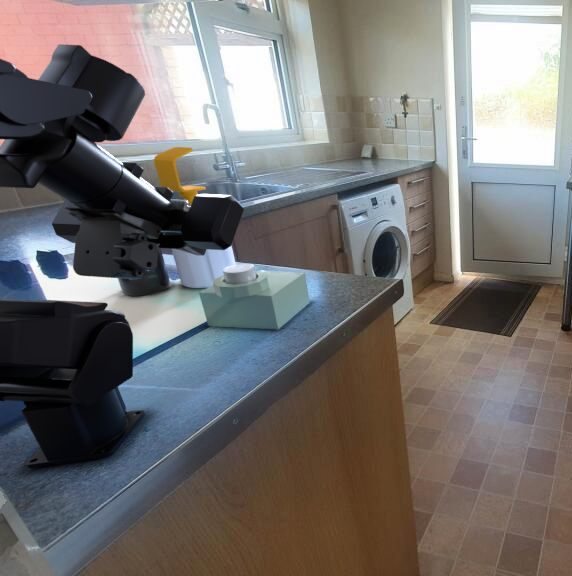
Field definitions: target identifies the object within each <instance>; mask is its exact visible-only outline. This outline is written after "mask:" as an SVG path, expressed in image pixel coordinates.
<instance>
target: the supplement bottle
mask: <svg viewBox="0 0 572 576" xmlns="http://www.w3.org/2000/svg"><path fill="white" fill-rule="evenodd" d="M157 246H158V247H159V244H157ZM117 282H118V284H119V286H120V289H121V292H122V293H123V294H124V295H127V296H133V297H134V296H146V295H153V294H157V293H160V292H163V291H165V290H167V289H168V288H169V287H170V286H171V279H170V276H169V272H168V269H167V266H166V262H165V259H164V255H163V252H162V248H158V260H157V267H156V268H155V269H154V270H148V271H147V274H146V276H145V277H143V278H141V279H125V278H117Z"/></svg>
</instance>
